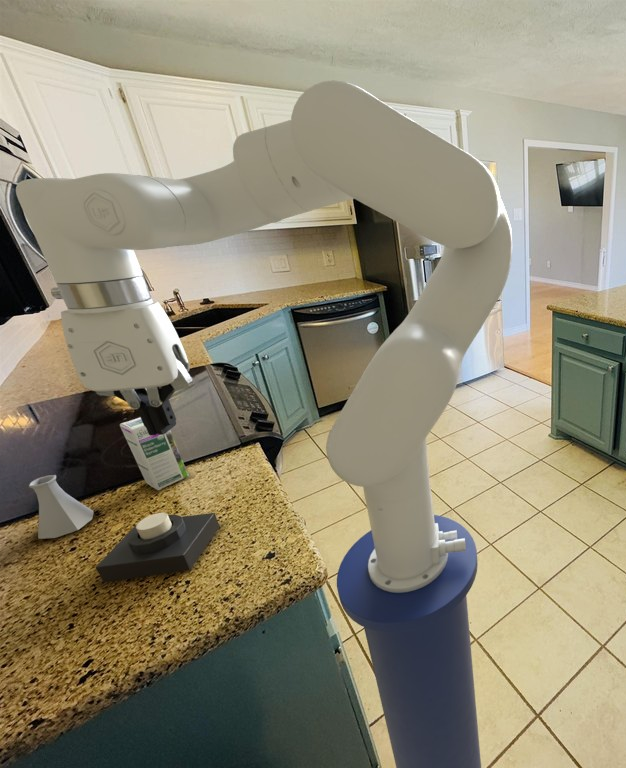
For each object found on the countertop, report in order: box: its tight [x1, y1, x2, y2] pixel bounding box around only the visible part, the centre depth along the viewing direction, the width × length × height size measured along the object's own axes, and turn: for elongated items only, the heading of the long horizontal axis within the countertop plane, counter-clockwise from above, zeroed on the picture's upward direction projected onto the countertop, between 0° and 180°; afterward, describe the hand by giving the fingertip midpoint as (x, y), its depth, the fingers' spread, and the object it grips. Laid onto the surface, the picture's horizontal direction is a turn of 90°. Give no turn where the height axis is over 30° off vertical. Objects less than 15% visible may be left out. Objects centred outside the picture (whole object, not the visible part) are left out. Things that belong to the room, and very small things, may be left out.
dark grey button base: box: [95, 512, 220, 583], centre depth 67 cm, size 12×10×5 cm
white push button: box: [135, 512, 172, 540], centre depth 66 cm, size 4×4×2 cm
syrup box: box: [119, 416, 189, 492], centre depth 84 cm, size 6×6×14 cm
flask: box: [28, 474, 94, 540], centre depth 72 cm, size 7×7×10 cm
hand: (163, 429), depth 55 cm, fingers closed
